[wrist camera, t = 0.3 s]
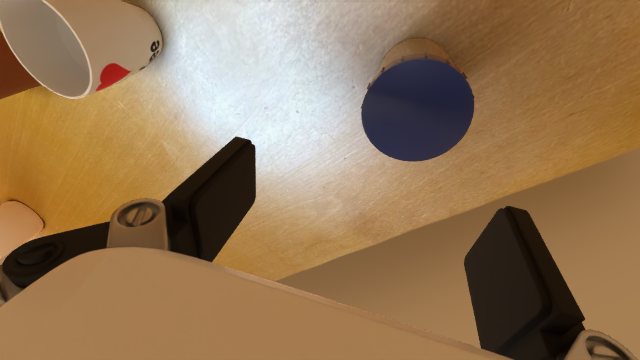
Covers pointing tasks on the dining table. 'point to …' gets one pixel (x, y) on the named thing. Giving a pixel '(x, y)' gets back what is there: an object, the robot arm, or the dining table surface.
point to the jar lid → (417, 107)
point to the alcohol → (17, 225)
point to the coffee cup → (12, 72)
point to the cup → (79, 42)
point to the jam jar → (413, 50)
